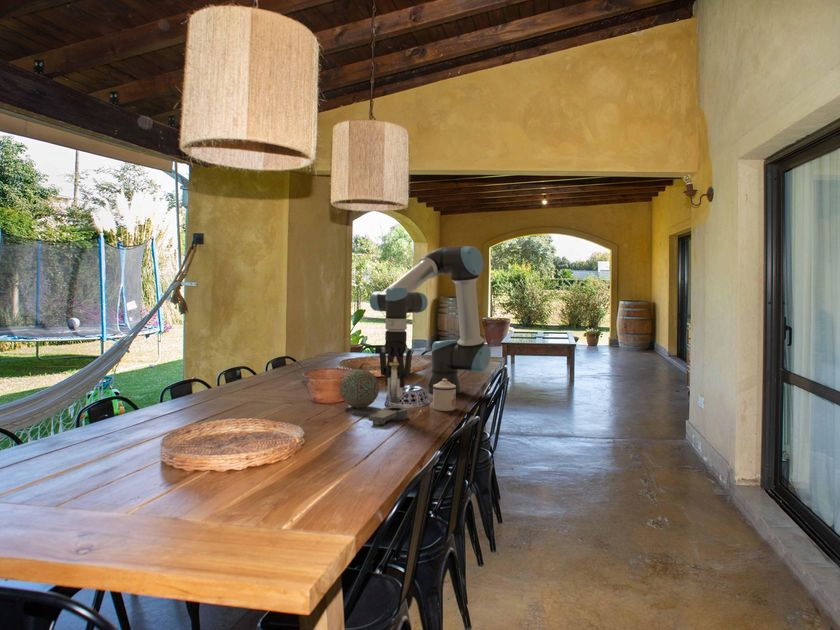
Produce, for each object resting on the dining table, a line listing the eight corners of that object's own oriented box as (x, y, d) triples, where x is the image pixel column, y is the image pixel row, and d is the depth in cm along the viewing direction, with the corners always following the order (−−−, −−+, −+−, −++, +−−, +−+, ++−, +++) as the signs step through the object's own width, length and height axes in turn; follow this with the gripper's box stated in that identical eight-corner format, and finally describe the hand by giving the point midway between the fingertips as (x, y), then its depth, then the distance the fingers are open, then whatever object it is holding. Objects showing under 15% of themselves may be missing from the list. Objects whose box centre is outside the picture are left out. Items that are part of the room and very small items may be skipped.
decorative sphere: (333, 410, 224) (333, 370, 223) (348, 402, 238) (349, 365, 238) (370, 413, 220) (371, 372, 219) (384, 405, 234) (384, 367, 234)
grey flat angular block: (362, 410, 223) (362, 402, 223) (410, 416, 215) (410, 408, 215) (335, 420, 207) (335, 411, 207) (386, 427, 198) (387, 418, 198)
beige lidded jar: (457, 411, 225) (458, 381, 224) (433, 411, 224) (434, 380, 224) (453, 405, 237) (453, 376, 236) (430, 405, 236) (431, 375, 236)
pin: (392, 399, 215) (392, 360, 215) (403, 401, 213) (404, 361, 213) (385, 402, 211) (386, 362, 210) (397, 403, 209) (398, 363, 208)
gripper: (370, 329, 211) (369, 395, 212) (412, 332, 204) (410, 399, 205) (380, 328, 218) (380, 392, 219) (421, 330, 211) (420, 396, 212)
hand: (394, 395), depth 212 cm, fingers closed on pin, 3 cm apart
